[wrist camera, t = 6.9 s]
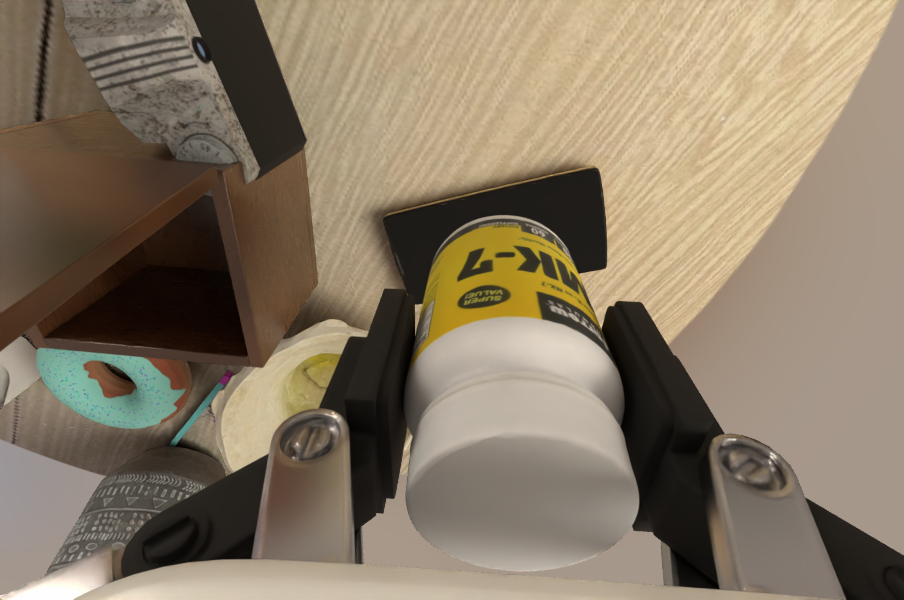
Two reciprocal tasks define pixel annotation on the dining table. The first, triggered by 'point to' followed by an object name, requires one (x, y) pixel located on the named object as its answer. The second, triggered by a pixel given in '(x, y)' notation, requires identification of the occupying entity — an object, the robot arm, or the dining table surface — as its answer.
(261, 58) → the camera
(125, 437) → the dining table surface
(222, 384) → the teal t-shaped tool
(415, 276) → the smartphone
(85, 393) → the donut
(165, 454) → the planter
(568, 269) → the supplement bottle
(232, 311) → the chest
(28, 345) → the grey square panel
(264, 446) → the bowl
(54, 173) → the lid
